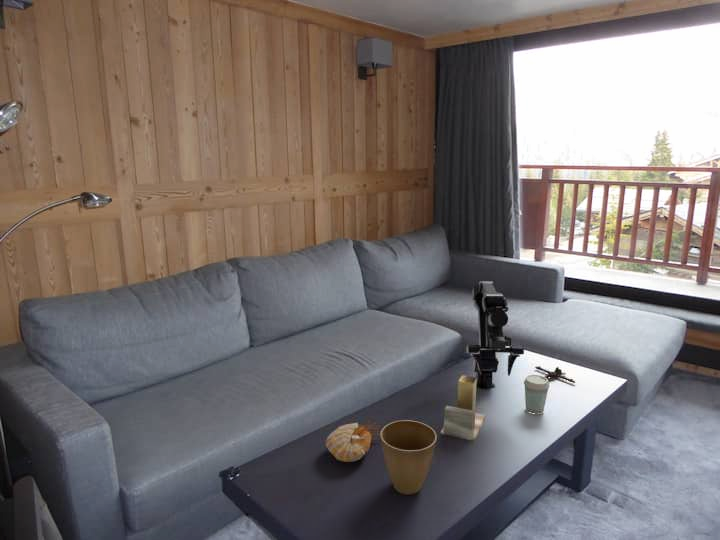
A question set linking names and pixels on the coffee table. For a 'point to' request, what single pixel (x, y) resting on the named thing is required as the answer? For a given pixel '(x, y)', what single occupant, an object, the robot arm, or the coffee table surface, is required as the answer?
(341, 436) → the nautilus
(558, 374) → the dark brown branching piece
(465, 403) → the latch bar
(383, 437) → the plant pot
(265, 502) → the coffee table surface
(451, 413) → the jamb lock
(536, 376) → the coffee cup
